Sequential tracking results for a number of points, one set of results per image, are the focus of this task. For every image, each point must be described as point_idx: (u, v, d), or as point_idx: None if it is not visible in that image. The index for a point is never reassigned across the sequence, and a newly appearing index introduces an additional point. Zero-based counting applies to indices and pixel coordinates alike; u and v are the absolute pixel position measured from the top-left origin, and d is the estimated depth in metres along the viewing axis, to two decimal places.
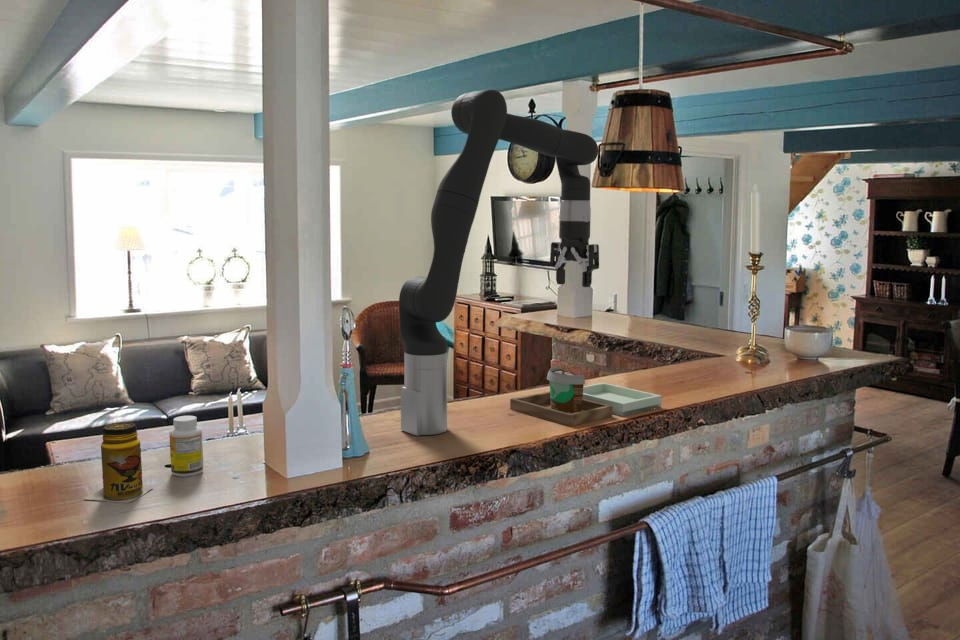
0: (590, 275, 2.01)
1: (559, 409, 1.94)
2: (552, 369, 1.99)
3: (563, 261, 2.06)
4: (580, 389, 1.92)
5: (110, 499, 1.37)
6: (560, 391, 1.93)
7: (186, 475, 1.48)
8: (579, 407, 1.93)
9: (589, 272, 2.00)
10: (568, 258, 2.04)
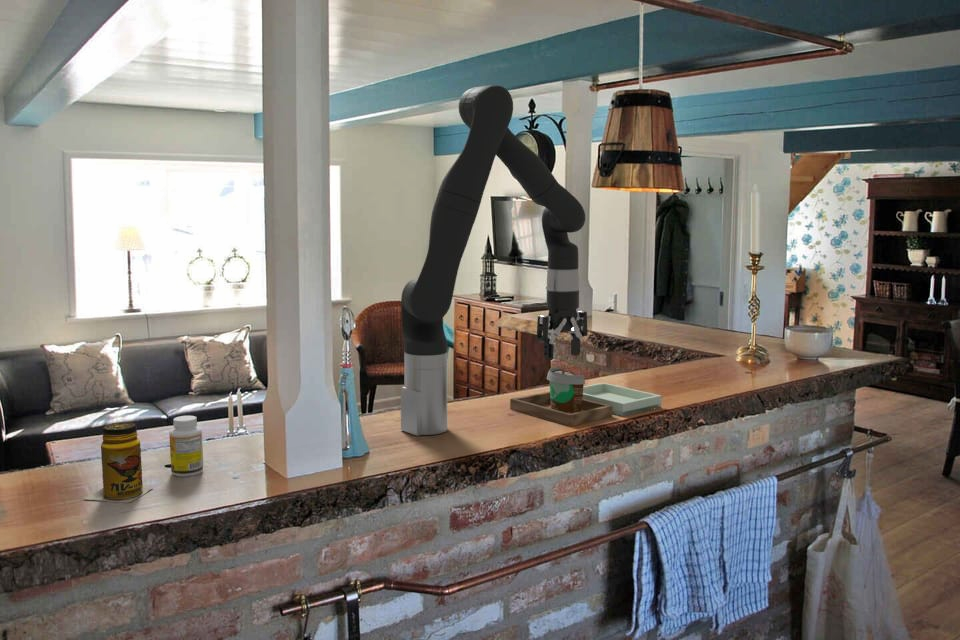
0: None
1: (559, 409, 1.94)
2: (552, 369, 1.99)
3: None
4: (580, 389, 1.92)
5: (110, 499, 1.37)
6: (560, 391, 1.93)
7: (186, 475, 1.48)
8: (579, 407, 1.93)
9: None
10: (563, 330, 1.92)
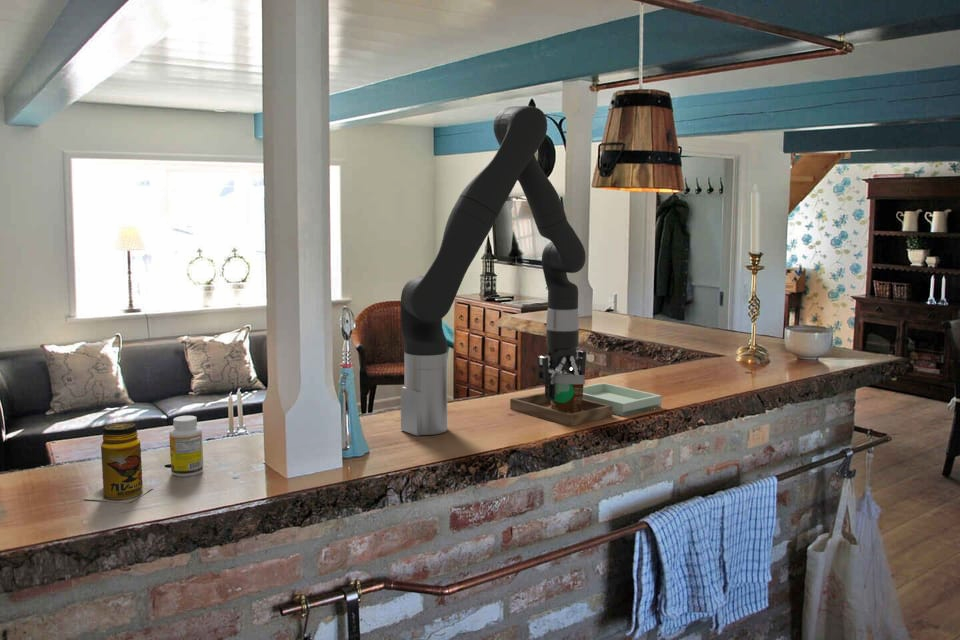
0: None
1: (559, 409, 1.94)
2: (552, 369, 1.99)
3: None
4: (580, 389, 1.92)
5: (110, 499, 1.37)
6: (560, 391, 1.93)
7: (186, 475, 1.48)
8: (579, 406, 1.93)
9: None
10: (563, 368, 1.94)
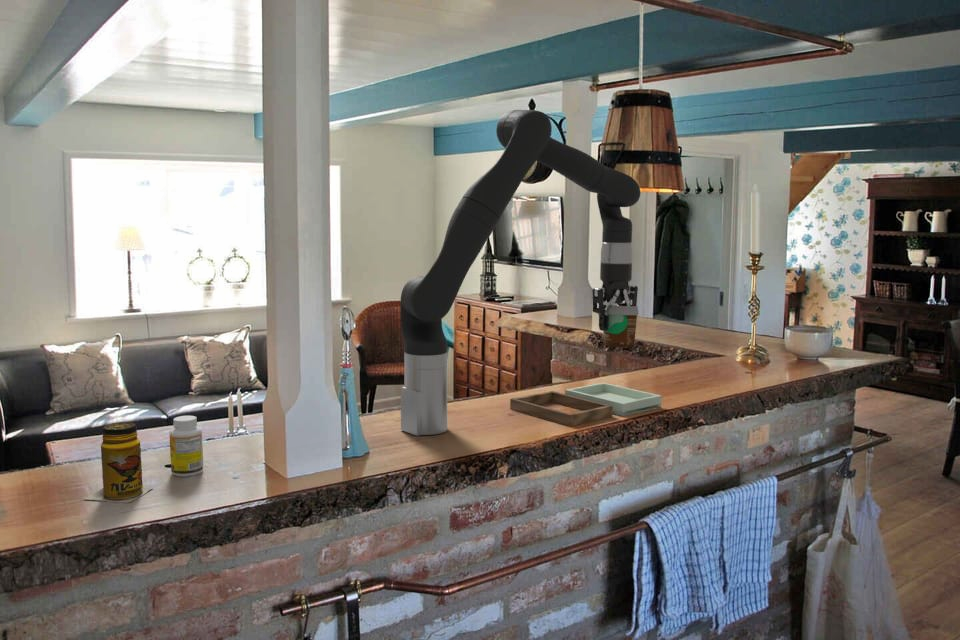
0: None
1: (612, 340, 2.00)
2: None
3: None
4: (633, 320, 1.98)
5: (110, 499, 1.37)
6: (614, 322, 1.99)
7: (186, 475, 1.48)
8: (632, 337, 1.99)
9: None
10: (616, 300, 2.00)
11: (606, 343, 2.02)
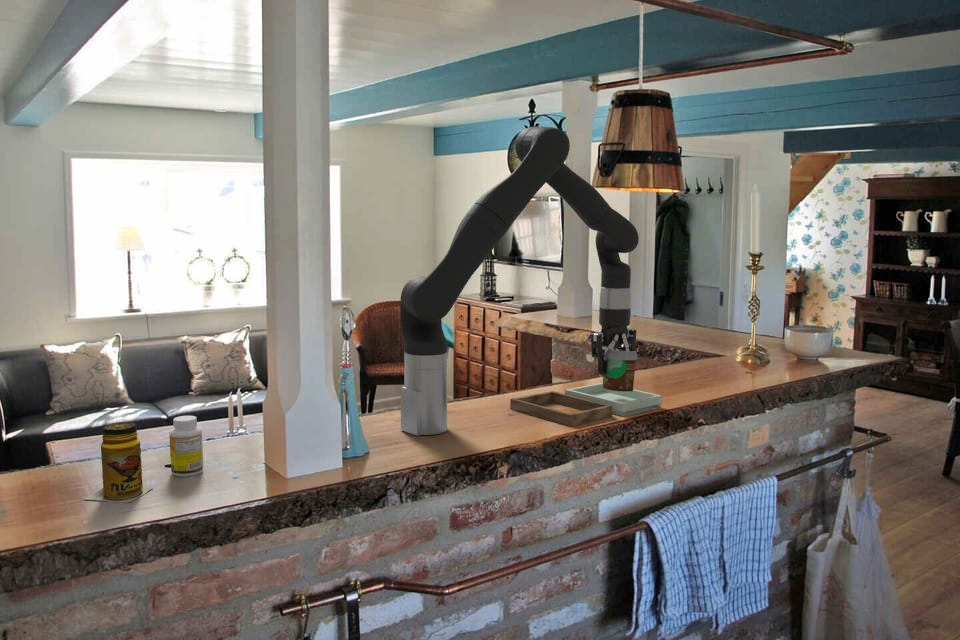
0: None
1: (611, 384, 2.01)
2: None
3: None
4: (632, 365, 1.99)
5: (110, 499, 1.37)
6: (613, 367, 2.00)
7: (186, 475, 1.48)
8: (631, 382, 2.00)
9: None
10: (615, 345, 2.02)
11: (605, 387, 2.03)
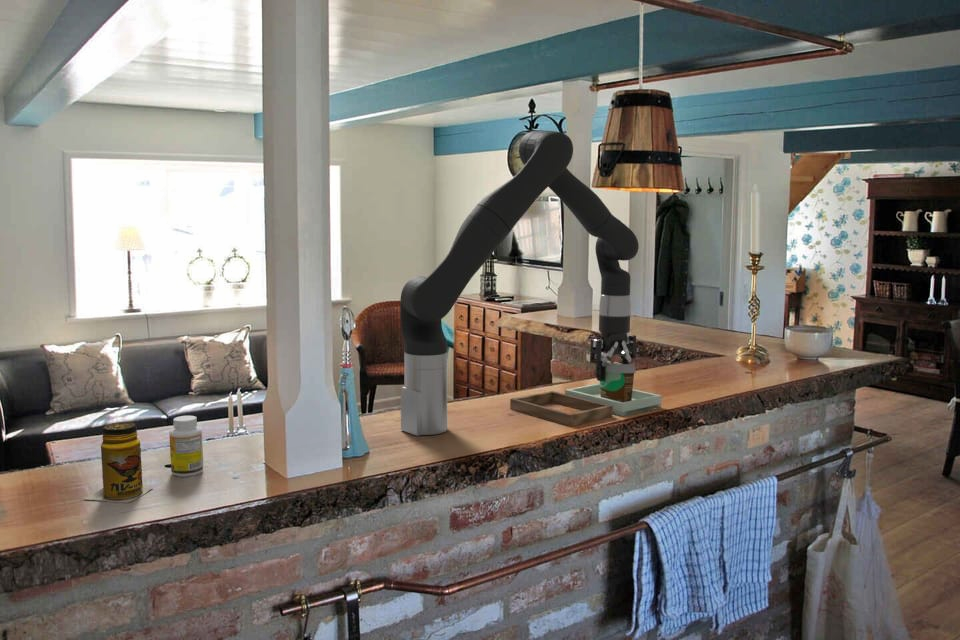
0: None
1: (610, 397, 2.02)
2: None
3: None
4: (631, 378, 2.00)
5: (110, 499, 1.37)
6: (611, 380, 2.01)
7: (186, 475, 1.48)
8: (629, 394, 2.01)
9: None
10: (614, 352, 2.02)
11: None
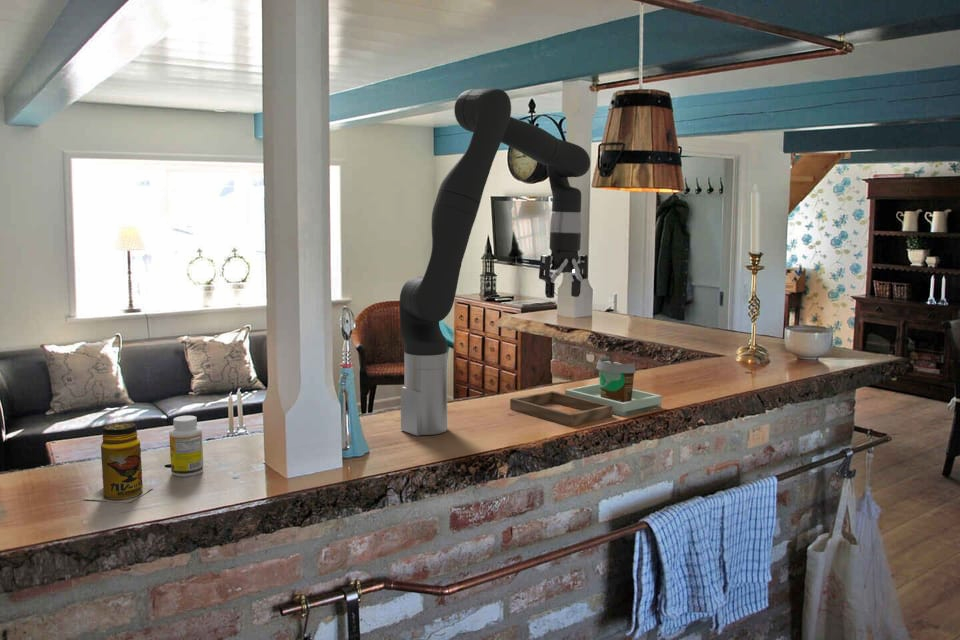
0: None
1: (610, 397, 2.02)
2: (601, 359, 2.07)
3: None
4: (631, 378, 2.00)
5: (110, 499, 1.37)
6: (611, 380, 2.01)
7: (186, 475, 1.48)
8: (629, 395, 2.01)
9: None
10: (564, 270, 2.02)
11: None
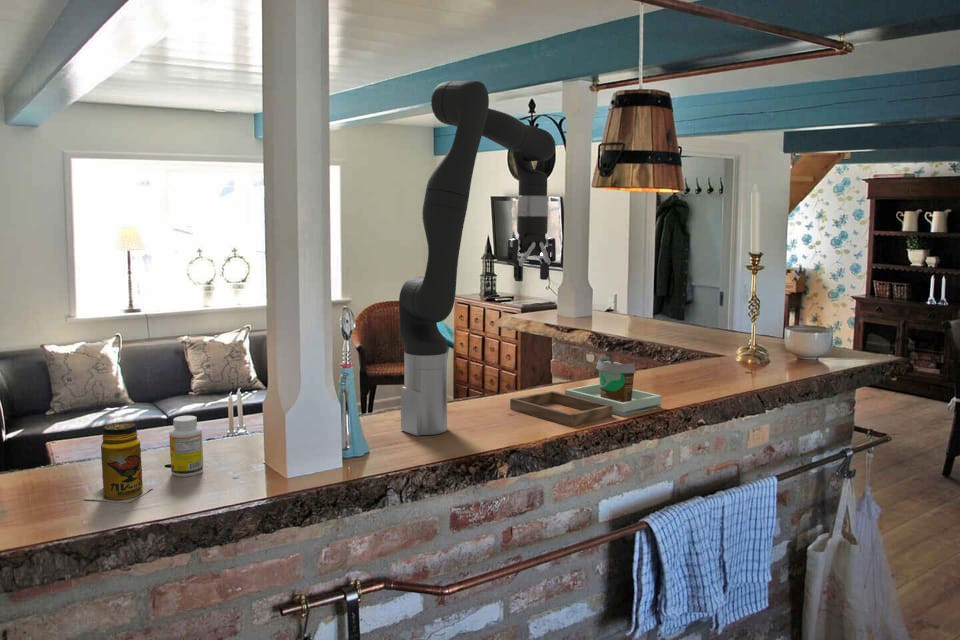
0: None
1: (610, 397, 2.02)
2: (601, 359, 2.07)
3: None
4: (631, 378, 2.00)
5: (110, 499, 1.37)
6: (611, 380, 2.01)
7: (186, 475, 1.48)
8: (629, 395, 2.01)
9: None
10: (532, 253, 2.04)
11: None
